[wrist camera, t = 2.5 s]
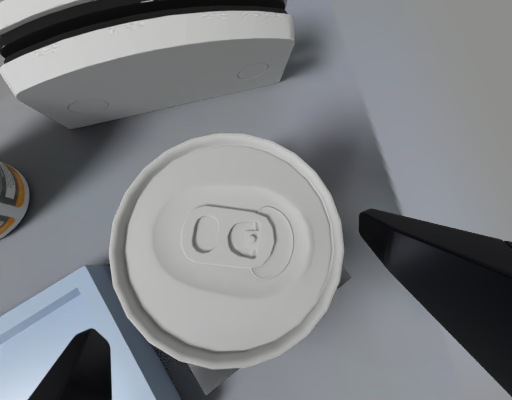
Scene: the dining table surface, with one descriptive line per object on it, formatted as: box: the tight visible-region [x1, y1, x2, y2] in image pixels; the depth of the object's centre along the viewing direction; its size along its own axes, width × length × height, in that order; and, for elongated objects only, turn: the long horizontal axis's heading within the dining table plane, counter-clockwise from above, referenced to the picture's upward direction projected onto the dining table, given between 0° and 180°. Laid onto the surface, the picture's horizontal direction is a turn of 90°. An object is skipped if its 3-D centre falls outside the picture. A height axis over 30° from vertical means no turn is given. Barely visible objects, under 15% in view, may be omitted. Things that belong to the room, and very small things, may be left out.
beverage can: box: [109, 133, 345, 369], centre depth 11 cm, size 5×5×12 cm
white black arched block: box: [0, 0, 295, 130], centre depth 15 cm, size 17×5×10 cm, turn 108°
